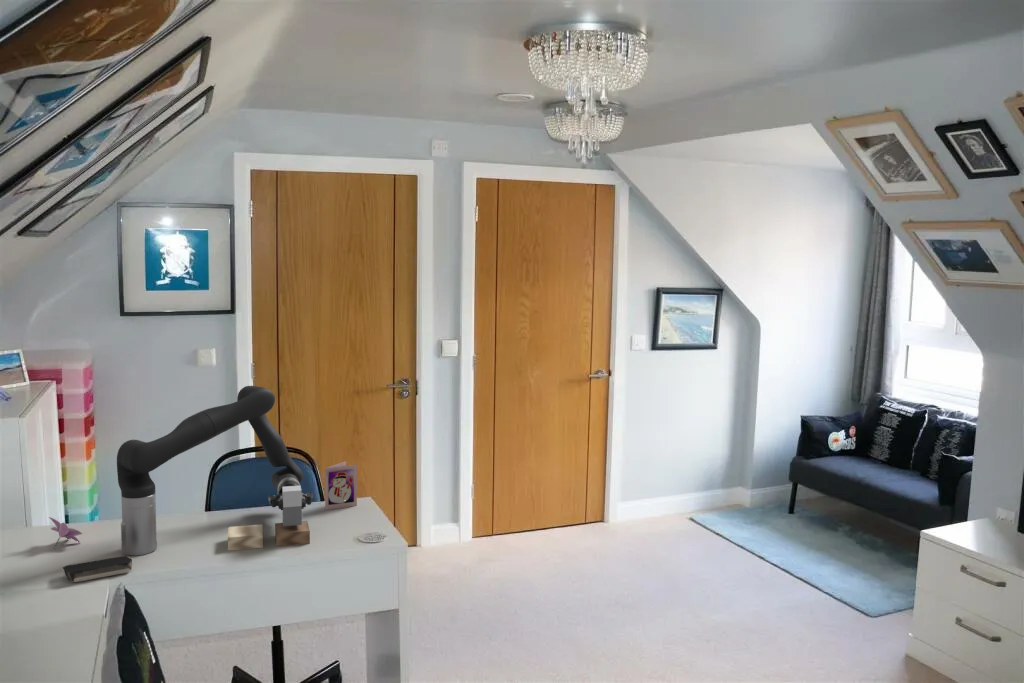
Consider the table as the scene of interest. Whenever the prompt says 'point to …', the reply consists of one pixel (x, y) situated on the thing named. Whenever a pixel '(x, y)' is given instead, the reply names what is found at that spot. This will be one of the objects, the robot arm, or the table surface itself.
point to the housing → (292, 505)
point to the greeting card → (340, 486)
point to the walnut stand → (292, 534)
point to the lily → (65, 531)
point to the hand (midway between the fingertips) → (292, 506)
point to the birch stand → (245, 537)
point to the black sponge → (98, 568)
